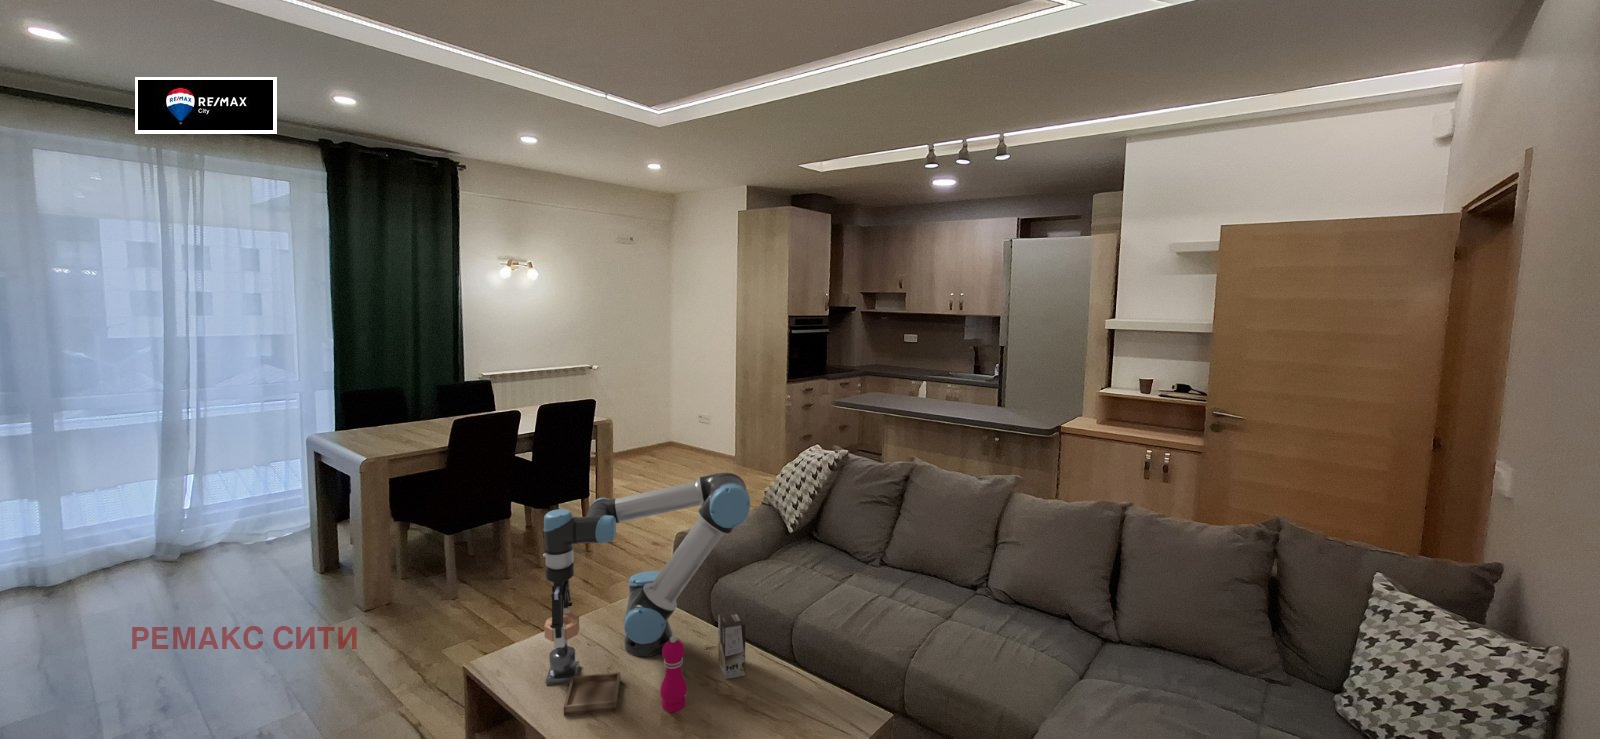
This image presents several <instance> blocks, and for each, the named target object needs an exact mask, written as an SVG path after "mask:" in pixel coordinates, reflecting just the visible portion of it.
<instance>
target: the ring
mask: <svg viewBox="0 0 1600 739" xmlns="http://www.w3.org/2000/svg"><path fill="white" fill-rule="evenodd" d="M563 621H566V622H567V625H566V626H564V638H565V641H566V640H567V641H568V640H571V639H572V638H574V637H576V636H577V635H578V634H579V630H580V617H579V616H578V615H577V614H574V613H572V612H570V613H567V614H563ZM550 625H552V616H551V617H549V618H547V619H546V621H545V623H544V626H543V630H544V638H545V639H547V640H549V641H550V642H552V643H553V642H554V628H553V629H552V628H550Z"/></svg>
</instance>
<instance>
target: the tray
mask: <svg viewBox="0 0 1600 739" xmlns="http://www.w3.org/2000/svg"><path fill="white" fill-rule="evenodd" d="M620 684H621V672H619V671H618V672H608V673H607V672H606V673H597V674H588V675H586V674H585V675H577V676H575V677H572V678H571V681H570V682H569V686H568V689H567V693H566V698H565V701H564V703H563V716H575V715H582V714H584V715H585V714H593V713H594V714H595V713H602V712H604V713H605V712H612V711H617V707H618V699H619V692H620V686H621V685H620Z"/></svg>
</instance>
